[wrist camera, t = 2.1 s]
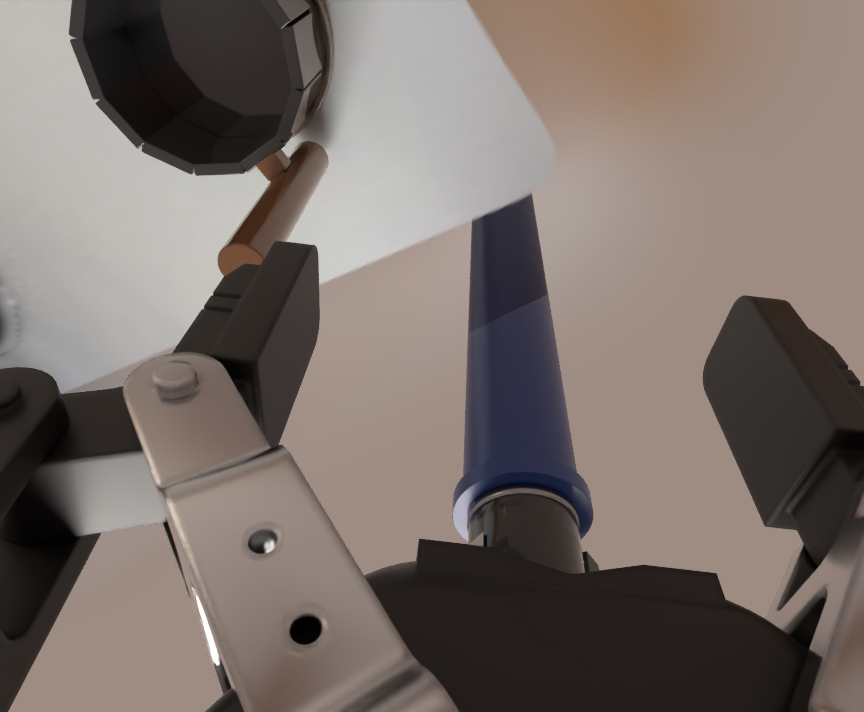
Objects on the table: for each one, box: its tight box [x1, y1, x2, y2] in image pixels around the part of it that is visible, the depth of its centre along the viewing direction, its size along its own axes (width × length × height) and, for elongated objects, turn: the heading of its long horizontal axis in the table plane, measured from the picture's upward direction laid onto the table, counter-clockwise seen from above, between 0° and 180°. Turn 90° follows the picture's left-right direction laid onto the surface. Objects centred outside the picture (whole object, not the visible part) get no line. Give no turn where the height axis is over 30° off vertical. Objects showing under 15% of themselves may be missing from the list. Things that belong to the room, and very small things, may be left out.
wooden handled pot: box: [69, 0, 329, 276], centre depth 26 cm, size 13×10×12 cm
